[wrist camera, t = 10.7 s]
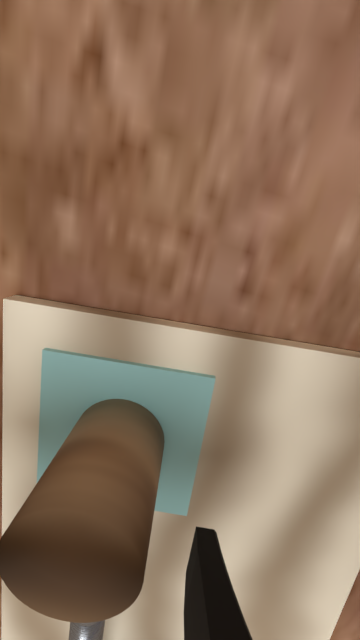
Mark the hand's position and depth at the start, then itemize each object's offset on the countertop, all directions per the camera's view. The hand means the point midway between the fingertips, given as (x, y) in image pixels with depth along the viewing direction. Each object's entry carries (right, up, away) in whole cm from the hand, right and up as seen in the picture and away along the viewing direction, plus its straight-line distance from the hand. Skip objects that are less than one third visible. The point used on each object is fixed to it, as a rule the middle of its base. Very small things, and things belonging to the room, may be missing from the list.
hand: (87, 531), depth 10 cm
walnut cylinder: (0, +1, +5) cm, 5 cm away
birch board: (+3, -6, +8) cm, 10 cm away
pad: (0, +2, +6) cm, 6 cm away
